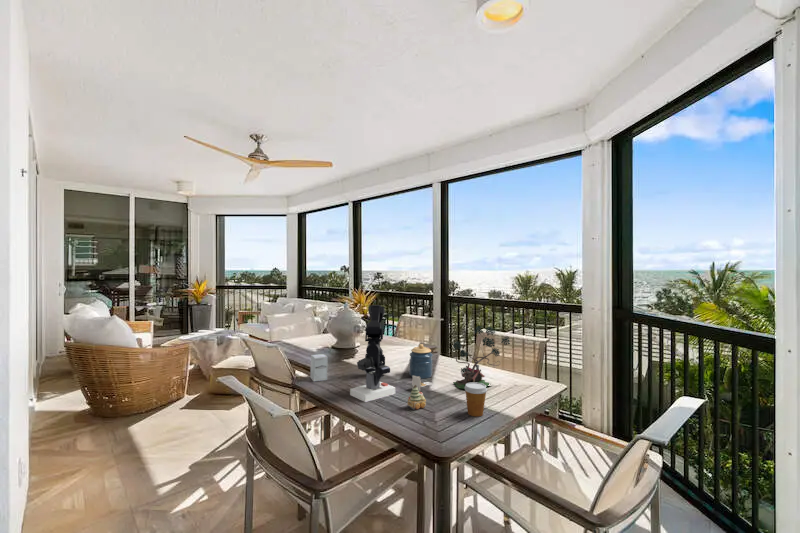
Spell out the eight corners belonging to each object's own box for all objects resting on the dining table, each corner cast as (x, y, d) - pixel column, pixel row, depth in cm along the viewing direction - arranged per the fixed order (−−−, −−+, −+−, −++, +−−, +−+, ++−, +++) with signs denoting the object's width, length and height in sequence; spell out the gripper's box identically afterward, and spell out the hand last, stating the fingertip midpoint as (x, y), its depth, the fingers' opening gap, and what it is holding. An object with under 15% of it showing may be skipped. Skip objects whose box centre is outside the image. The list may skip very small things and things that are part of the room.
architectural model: (417, 388, 198) (417, 374, 198) (426, 392, 193) (426, 377, 193) (412, 390, 196) (412, 375, 196) (421, 393, 190) (421, 378, 190)
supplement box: (313, 382, 204) (314, 358, 204) (310, 378, 211) (310, 354, 211) (327, 380, 208) (327, 356, 207) (323, 376, 214) (323, 353, 214)
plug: (374, 385, 190) (374, 370, 190) (379, 387, 187) (379, 372, 187) (366, 387, 187) (366, 372, 187) (371, 389, 184) (371, 374, 184)
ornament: (419, 403, 176) (419, 381, 176) (428, 407, 172) (428, 384, 171) (405, 407, 171) (405, 384, 171) (414, 411, 167) (414, 388, 166)
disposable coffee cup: (461, 409, 169) (462, 382, 169) (483, 409, 170) (483, 381, 170) (467, 418, 160) (467, 389, 160) (489, 418, 161) (490, 389, 161)
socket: (379, 387, 197) (379, 379, 197) (395, 393, 188) (395, 385, 188) (350, 395, 185) (350, 387, 185) (365, 402, 176) (365, 393, 176)
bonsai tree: (479, 400, 181) (481, 332, 180) (441, 387, 199) (442, 325, 199) (522, 386, 203) (523, 325, 203) (484, 375, 222) (485, 319, 222)
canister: (405, 377, 216) (406, 345, 216) (413, 371, 228) (414, 340, 228) (428, 380, 211) (428, 347, 211) (435, 373, 223) (435, 343, 223)
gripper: (348, 350, 188) (347, 382, 189) (372, 358, 174) (371, 393, 175) (367, 347, 196) (366, 378, 196) (391, 354, 182) (390, 388, 182)
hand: (373, 384), depth 187 cm, fingers closed on plug, 4 cm apart
